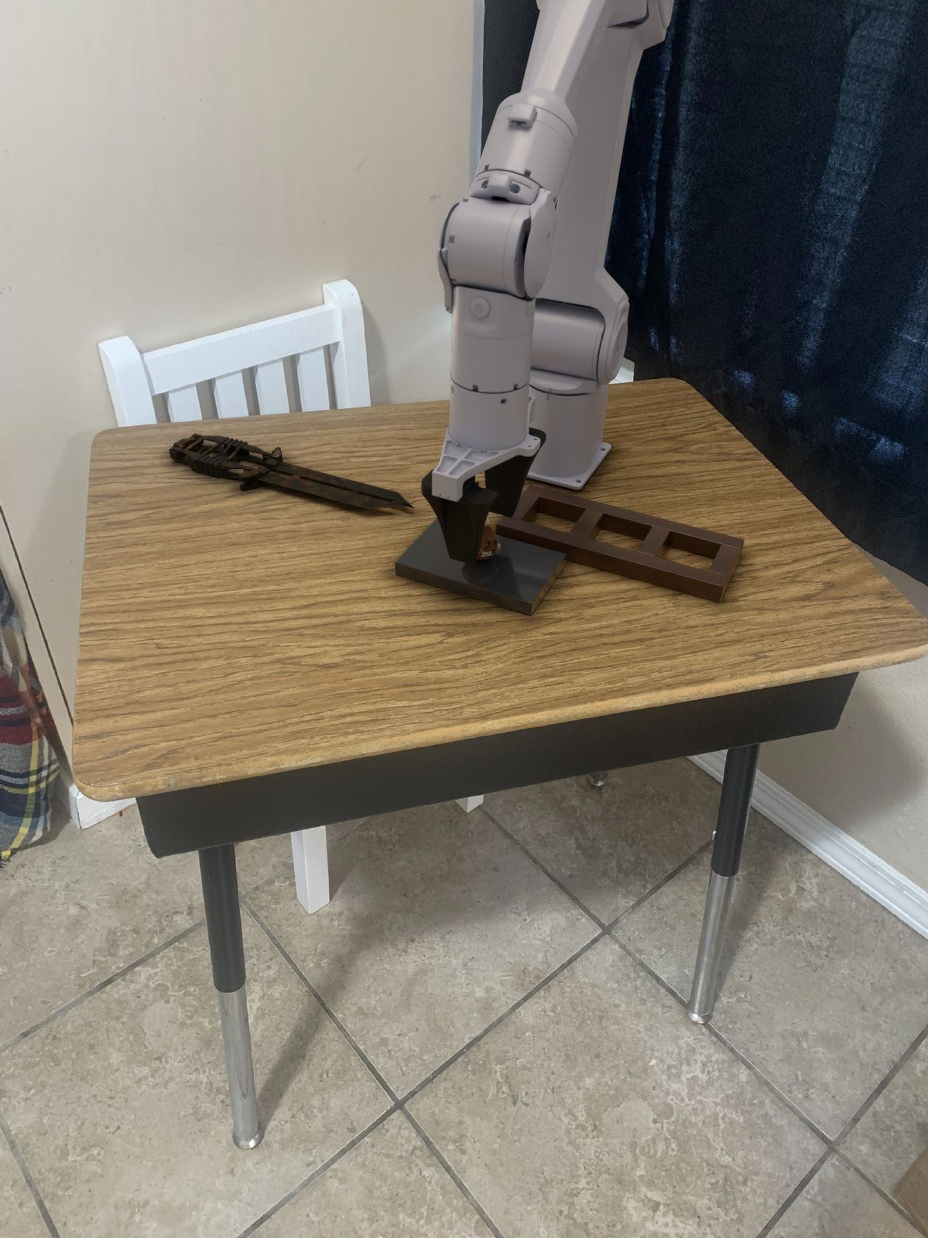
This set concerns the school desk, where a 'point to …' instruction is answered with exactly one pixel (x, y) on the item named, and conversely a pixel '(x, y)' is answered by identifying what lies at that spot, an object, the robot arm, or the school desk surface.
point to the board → (484, 570)
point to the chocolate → (488, 542)
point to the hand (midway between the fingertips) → (482, 535)
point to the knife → (275, 464)
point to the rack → (622, 560)
